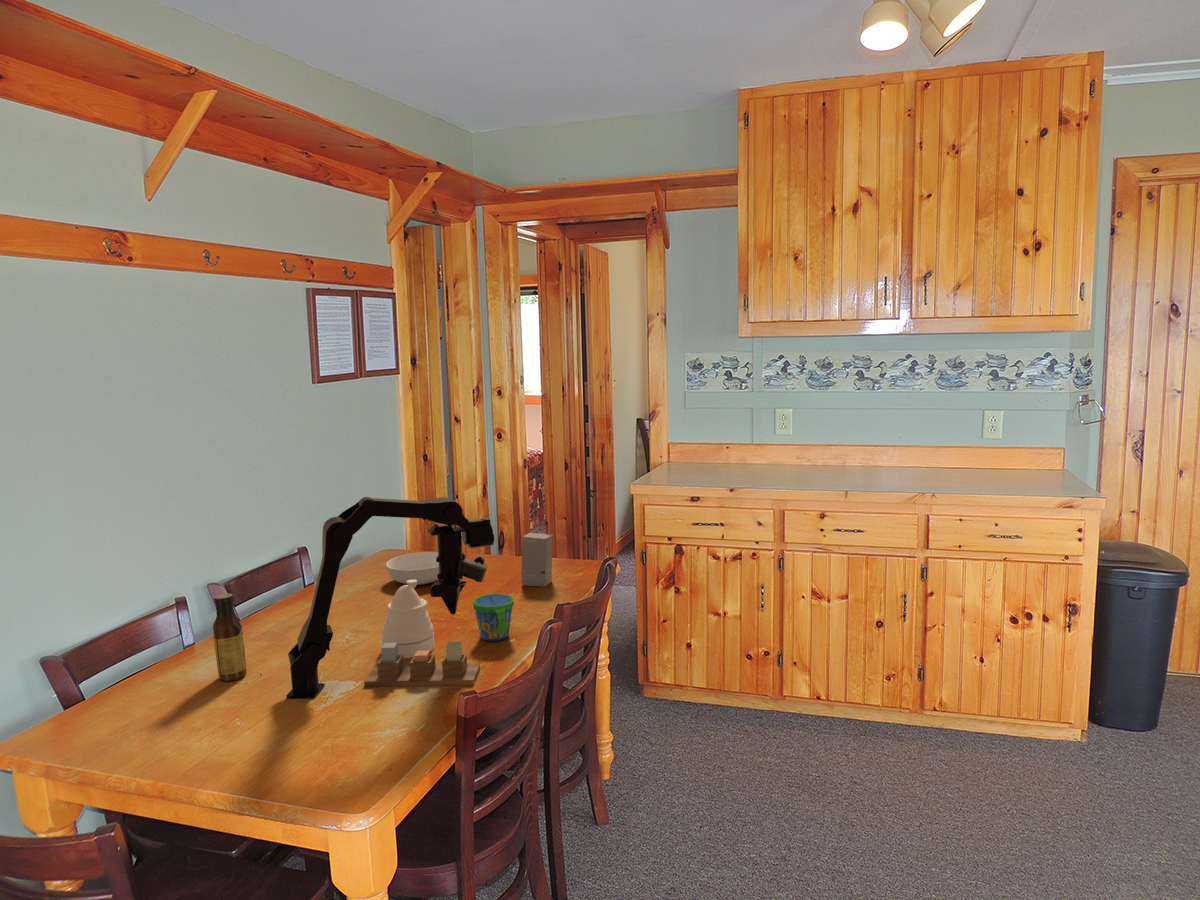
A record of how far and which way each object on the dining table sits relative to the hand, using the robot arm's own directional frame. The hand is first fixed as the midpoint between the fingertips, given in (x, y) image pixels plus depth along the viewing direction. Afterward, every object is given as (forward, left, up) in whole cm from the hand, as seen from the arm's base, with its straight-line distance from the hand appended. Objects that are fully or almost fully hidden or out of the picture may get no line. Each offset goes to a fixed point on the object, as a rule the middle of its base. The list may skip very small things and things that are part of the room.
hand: (453, 613), depth 195 cm
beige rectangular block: (-8, -1, -9) cm, 12 cm away
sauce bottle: (-6, +52, -13) cm, 54 cm away
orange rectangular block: (-8, +6, -11) cm, 15 cm away
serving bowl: (+68, +25, -13) cm, 74 cm away
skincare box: (+63, -14, -13) cm, 66 cm away
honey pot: (+10, +14, -13) cm, 21 cm away
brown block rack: (-8, +6, -12) cm, 16 cm away
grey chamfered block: (-8, +14, -9) cm, 18 cm away
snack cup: (+17, -7, -13) cm, 22 cm away
